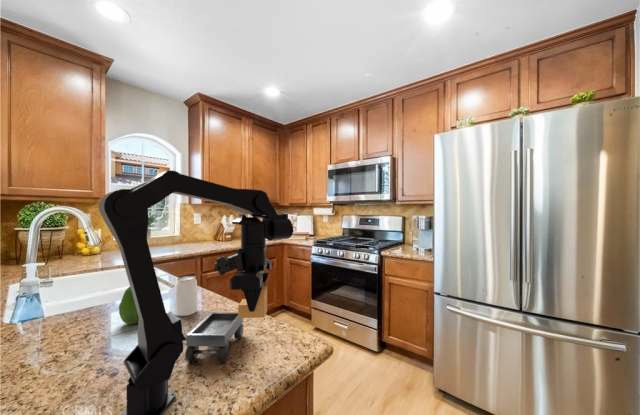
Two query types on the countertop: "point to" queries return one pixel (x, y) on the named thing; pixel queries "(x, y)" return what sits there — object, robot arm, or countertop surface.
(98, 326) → the countertop surface
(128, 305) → the avocado
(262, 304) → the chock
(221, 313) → the tray
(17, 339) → the countertop surface
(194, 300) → the can
